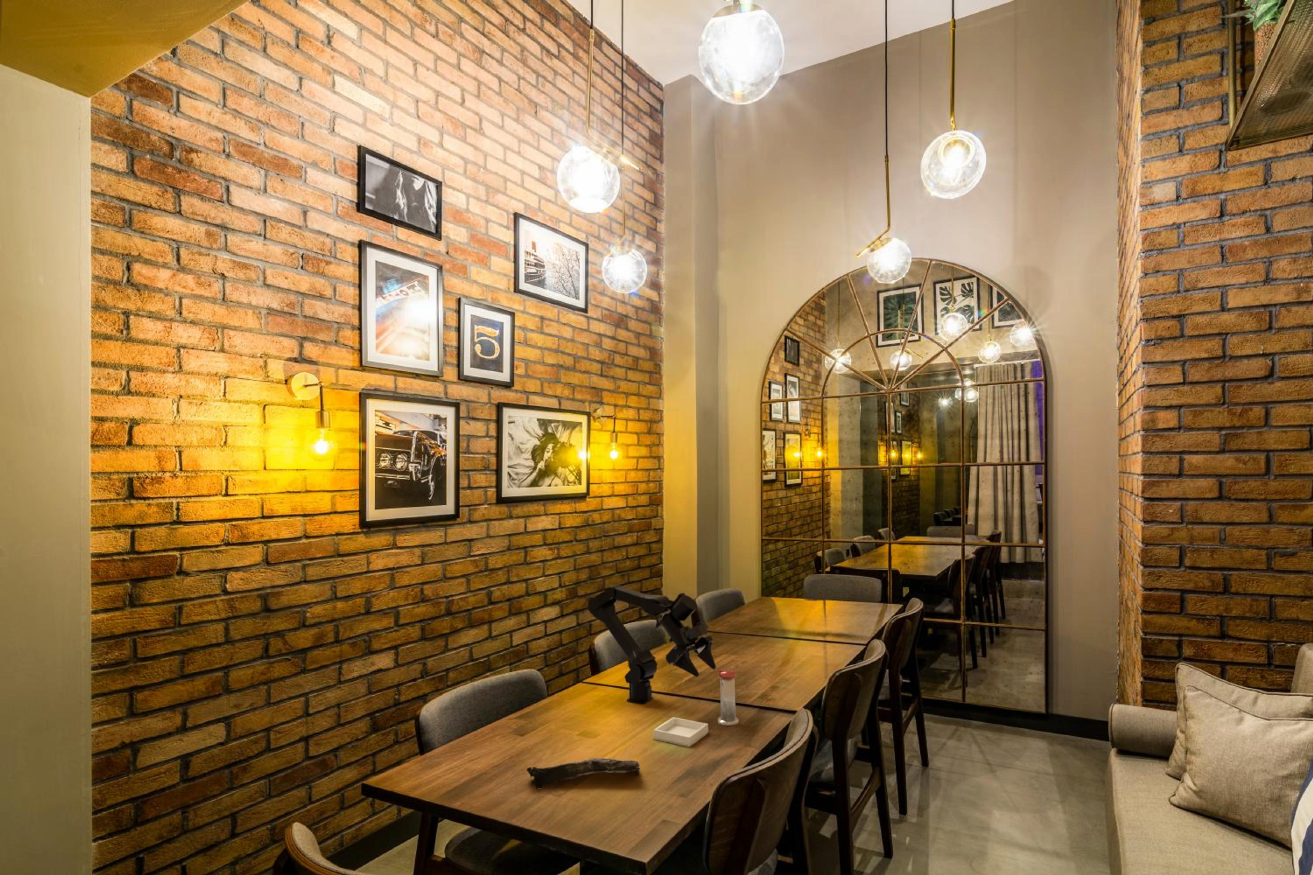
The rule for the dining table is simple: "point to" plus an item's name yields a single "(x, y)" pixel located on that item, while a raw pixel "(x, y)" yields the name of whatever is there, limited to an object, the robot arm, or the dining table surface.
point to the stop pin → (727, 697)
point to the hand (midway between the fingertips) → (706, 672)
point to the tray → (680, 731)
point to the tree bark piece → (579, 770)
